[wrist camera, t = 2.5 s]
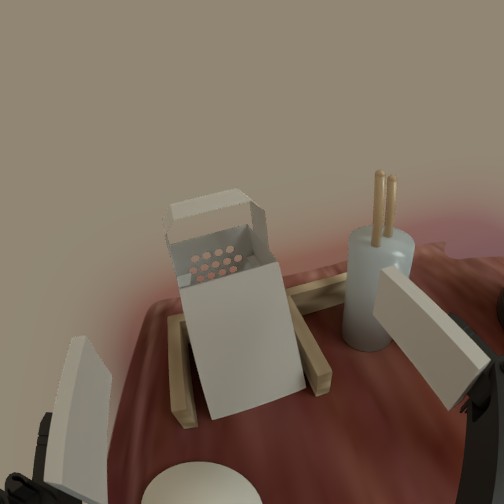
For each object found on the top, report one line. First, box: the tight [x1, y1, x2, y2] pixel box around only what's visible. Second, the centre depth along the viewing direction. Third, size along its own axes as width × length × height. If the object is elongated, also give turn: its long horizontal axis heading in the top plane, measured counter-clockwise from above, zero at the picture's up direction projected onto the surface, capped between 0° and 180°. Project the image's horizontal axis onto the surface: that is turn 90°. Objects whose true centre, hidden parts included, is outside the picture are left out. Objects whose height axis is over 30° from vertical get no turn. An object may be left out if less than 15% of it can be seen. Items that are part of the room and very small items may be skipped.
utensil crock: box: [341, 170, 415, 352], centre depth 28 cm, size 7×7×20 cm
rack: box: [167, 272, 347, 429], centre depth 32 cm, size 30×14×4 cm, turn 104°
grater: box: [163, 188, 306, 420], centre depth 26 cm, size 10×10×20 cm
